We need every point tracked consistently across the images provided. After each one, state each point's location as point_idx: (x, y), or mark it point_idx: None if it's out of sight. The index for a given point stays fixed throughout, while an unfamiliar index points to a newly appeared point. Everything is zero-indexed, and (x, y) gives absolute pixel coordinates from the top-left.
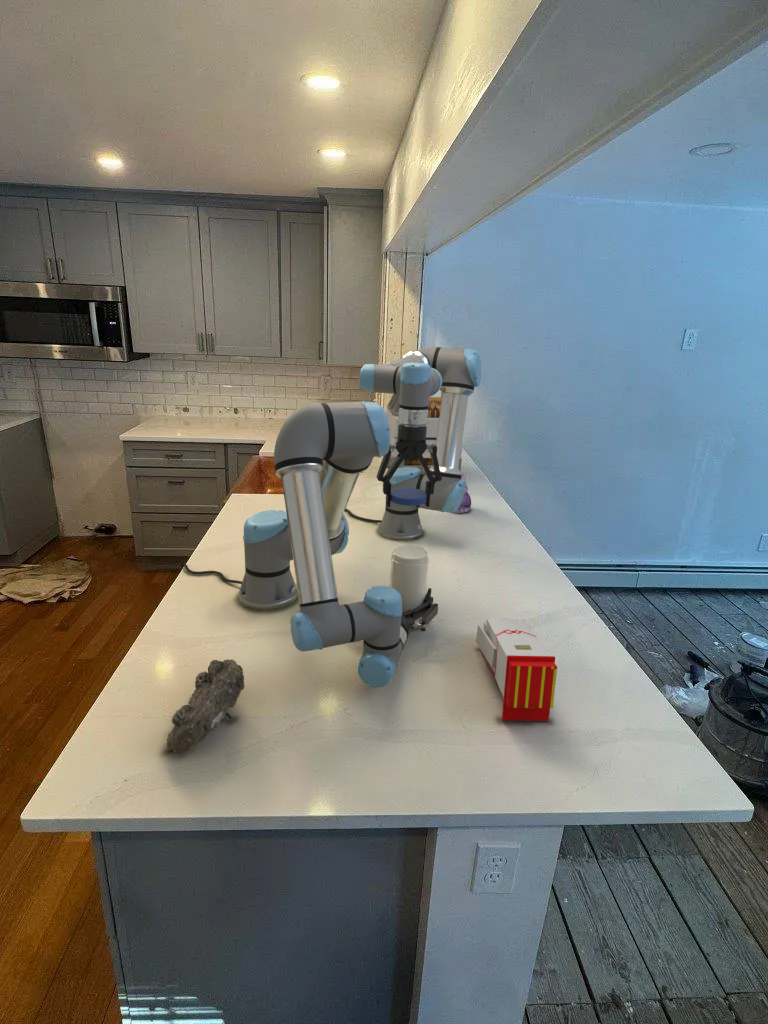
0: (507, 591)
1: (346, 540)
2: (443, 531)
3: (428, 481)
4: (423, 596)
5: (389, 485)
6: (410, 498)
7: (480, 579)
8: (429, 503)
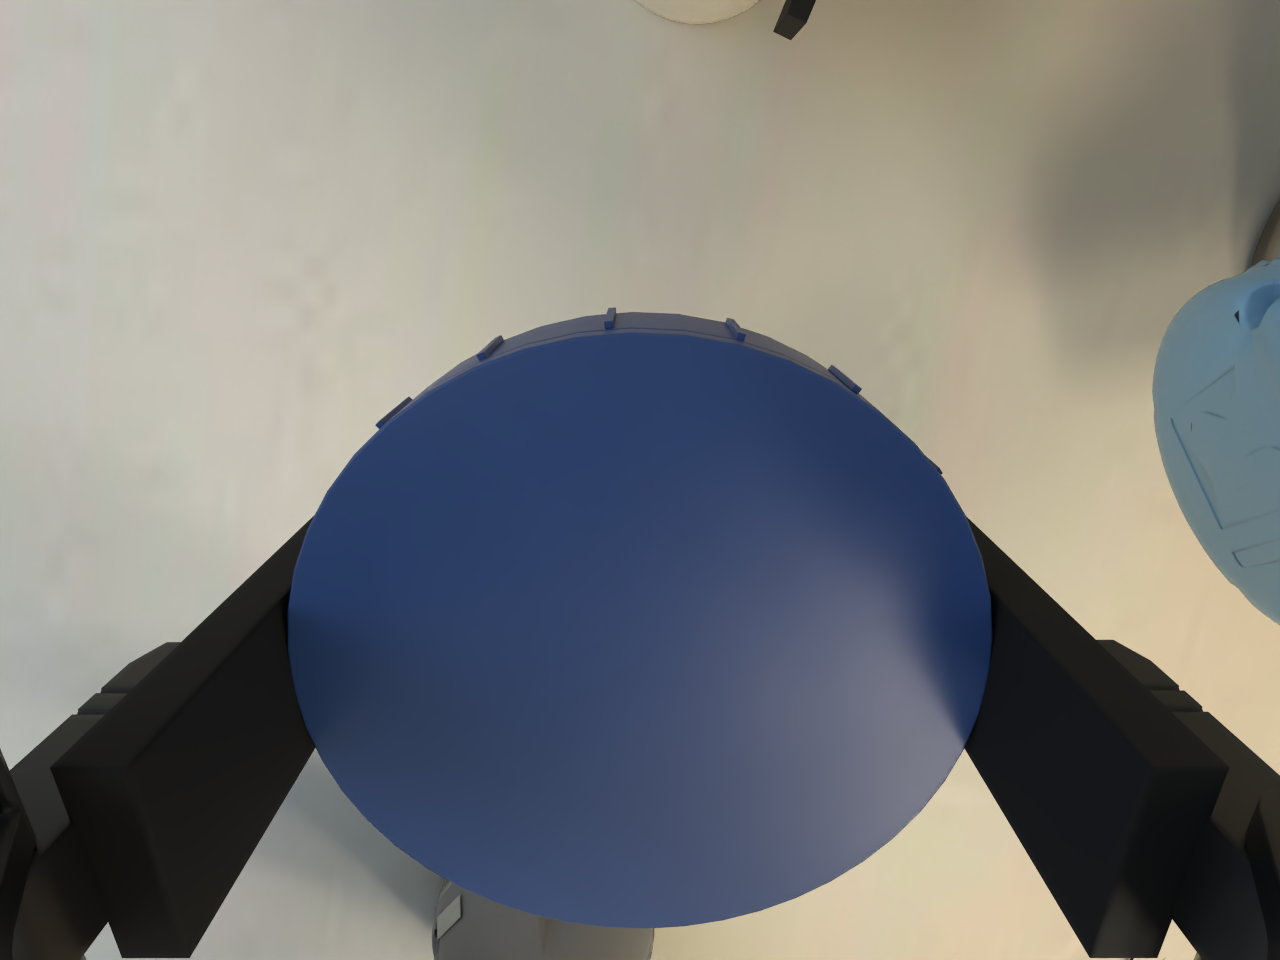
0: (26, 227)
1: (1257, 277)
2: (325, 915)
3: (126, 931)
4: None
5: (1171, 736)
6: (660, 382)
7: (179, 388)
8: (301, 529)
